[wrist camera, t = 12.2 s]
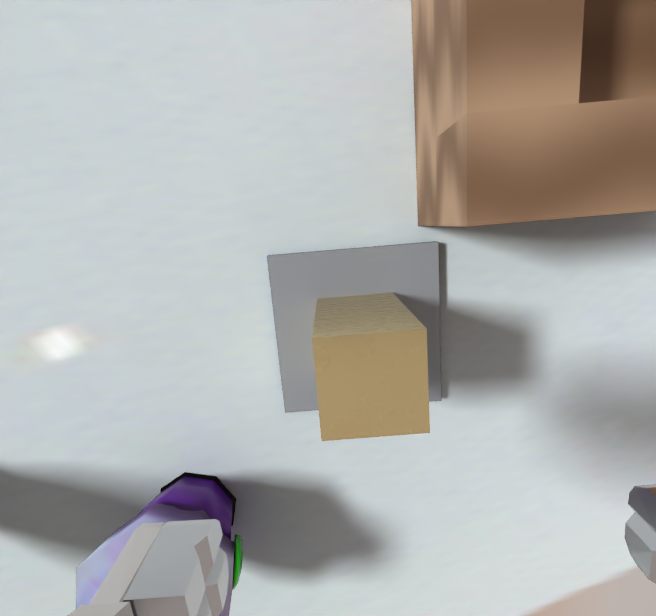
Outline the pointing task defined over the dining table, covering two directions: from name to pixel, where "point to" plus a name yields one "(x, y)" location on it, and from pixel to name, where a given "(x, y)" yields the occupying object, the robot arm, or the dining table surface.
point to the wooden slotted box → (533, 109)
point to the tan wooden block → (370, 367)
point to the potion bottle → (170, 505)
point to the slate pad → (348, 280)
